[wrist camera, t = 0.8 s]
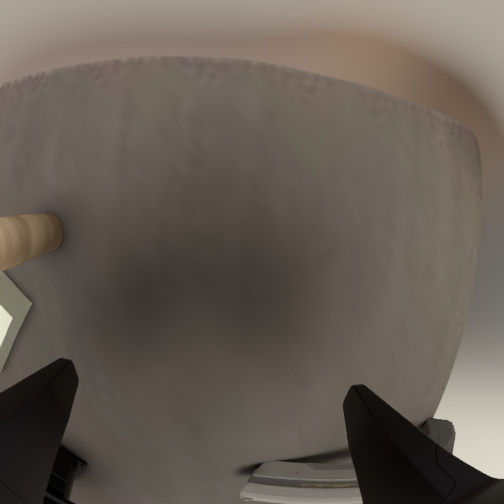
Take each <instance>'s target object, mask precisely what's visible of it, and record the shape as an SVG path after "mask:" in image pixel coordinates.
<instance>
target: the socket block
mask: <svg viewBox="0 0 504 504" xmlns="http://www.w3.org/2000/svg"><path fill="white" fill-rule="evenodd" d="M31 305H32V302H31V301H30V300H29V299H28V298H27V297H26V296H25V295H24V294H23V293H22V292H21V291H20V290H19V289H18V288H17V287H16V286H15V284H14V283H13V282H12V281H11V280H10V279H9V278H8V277H7V275H6V274H5V273H4V272H3V271H2V272H0V372H1V371H2V370H3V367H4V364H5V362H6V359H7V357H8V354H9V352H10V350H11V347H12V345H13V343H14V340H15V338H16V336H17V334H18V332H19V329H20V327H21V325H22V323H23V321H24V319H25V317H26V315H27V313H28V311H29V309H30V307H31Z"/></svg>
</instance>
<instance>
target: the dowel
mask: <svg viewBox="0 0 504 504" xmlns="http://www.w3.org/2000/svg"><path fill="white" fill-rule="evenodd" d="M63 234H64V231H63V225H62V223H61V221H60V219H59V218H58V217H57V216H56V215H54V214H52V213H40V214H29V215H19V216H9V217H0V272H2V271H4V270H6V269H9V268H11V267H14V266H16V265H18V264H21V263H23V262H26V261H28V260H31V259H33V258H36V257H38V256H41V255H44V254H46V253H49V252H51V251H54V250H56V249H57V248H58V247H59V246H60V244H61V242H62V240H63Z"/></svg>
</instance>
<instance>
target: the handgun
mask: <svg viewBox="0 0 504 504" xmlns="http://www.w3.org/2000/svg"><path fill="white" fill-rule="evenodd" d="M422 432H423V433H425V434H426V435H427V436H429V437H430V438H431V439H432V440H434V441H435V442H436V443H438V444H439V445H440V446H442V447H443V448H444V449H446V450H447V451H448V452H450V453H451V454H453V447H454V440H455V429H454V425H452V422H449V421H448V420H441V419H434V418H430V419H427V420H426V422H425V424H424V426H423V428H422ZM240 497H241V498H242V499H243V500H244V501H250V500H255V501H263V502H272V503H283V504H360V503H363V502H362V497H361V493H360V489H359V485H358V481H357V477H356V473H355V469H354V465H353V464H323V463H294V462H282V461H270V462H263V463H262V464H261V466H260V467H259V468H258V469H255V470H254V472H253V473H252V475H251V476H250V478H249V480H248V482H247V483H246V485H245V486H244V488H243V489H242V490H241V492H240Z"/></svg>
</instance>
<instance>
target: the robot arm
mask: <svg viewBox="0 0 504 504" xmlns="http://www.w3.org/2000/svg"><path fill="white" fill-rule="evenodd" d="M78 383H79V379H78V375H77V372H76V370H75V367H74V364H73V362H72V361H71V360H69V359H65V358H59V359H58V360H56V361H54V362H52V363H51V364H49V365H47V366H45V367H44V368H42V369H40V370H39V371H37V372H35V373H33V374H32V375H30V376H28V377H27V378H25V379H23V380H21V381H20V382H18V383H16V384H15V385H13V386H11V387H9V388H8V389H6V390H4V391H3V392H1V393H0V504H75V503H73V502H71V501H69V498H70V494H71V490H72V486H73V483H74V479H75V477H76V476H77V475H79V474H80V473H81V472H82V471H83V470H84V469H85V468H86V466H87V463H86V462H84V461H82V460H81V459H79V458H77V457H76V456H74V455H73V454H71V453H69V452H68V451H66V450H65V449H63V448H62V447H60V443H61V440H62V437H63V434H64V431H65V429H66V426H67V423H68V420H69V417H70V413H71V409H72V405H73V401H74V398H75V394H76V391H77V387H78ZM343 410H344V417H345V424H346V431H347V439H348V445H349V449H350V453H351V457H352V461H353V465H354V469H355V473H356V477H357V481H358V485H359V489H360V493H361V497H362V502H363V504H504V479H497V478H493V477H490V476H488V475H486V474H484V473H482V472H481V471H479V470H477V469H475V468H474V467H472V466H470V465H468V464H467V463H465V462H463V461H462V460H460V459H459V458H457V457H455V456H454V455H453V454H451V453H450V452H448V451H447V450H446V449H444V448H443V447H442V446H440V445H439V444H438V443H436V442H435V441H434V440H432V439H431V438H430V437H429V436H427V435H426V434H425V433H423V432H422V431H421V430H420V429H418V428H417V427H416V426H415V425H413V424H412V423H411V422H410V421H408V420H407V419H406V418H405V417H403V416H402V415H401V414H400V413H398V412H397V411H396V410H395V409H393V408H392V407H391V406H390V405H388V404H387V403H386V402H385V401H383V400H382V399H381V398H380V397H379V396H377V395H376V394H375V393H374V392H372V391H371V390H370V389H369V388H368V387H366V386H365V385H363V384H359V385H352V386H351V387H350V389H349V391H348V393H347V395H346V397H345V400H344V402H343Z"/></svg>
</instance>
